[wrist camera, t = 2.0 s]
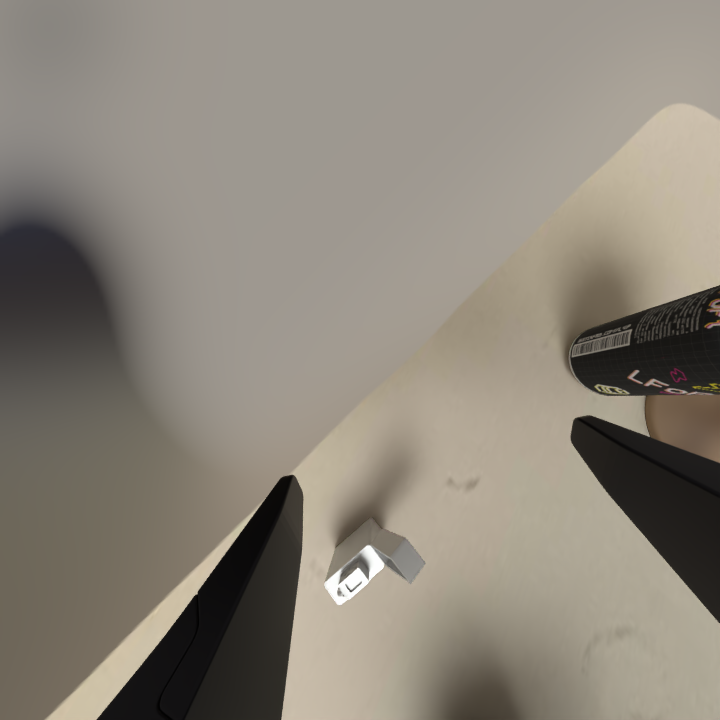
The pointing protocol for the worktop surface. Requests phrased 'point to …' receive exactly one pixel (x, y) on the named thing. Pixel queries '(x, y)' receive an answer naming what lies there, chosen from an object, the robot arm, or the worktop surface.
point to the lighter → (369, 560)
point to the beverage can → (654, 350)
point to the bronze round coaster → (686, 422)
